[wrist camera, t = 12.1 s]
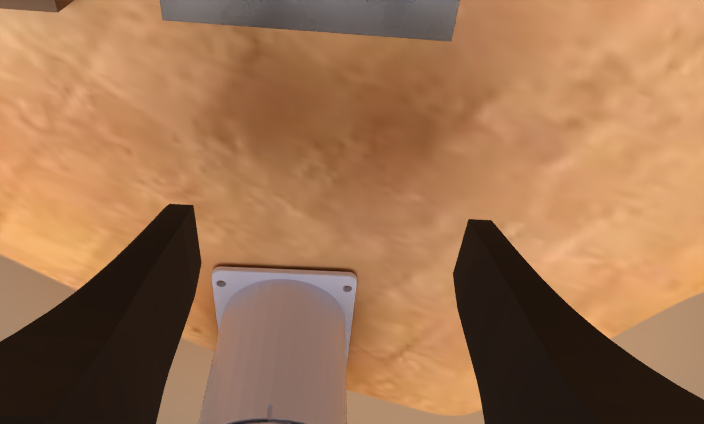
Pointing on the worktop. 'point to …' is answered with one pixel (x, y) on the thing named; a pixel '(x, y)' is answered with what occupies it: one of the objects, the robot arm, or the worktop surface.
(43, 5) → the brown square frame
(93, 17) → the worktop surface
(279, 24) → the socket block
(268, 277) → the robot arm
